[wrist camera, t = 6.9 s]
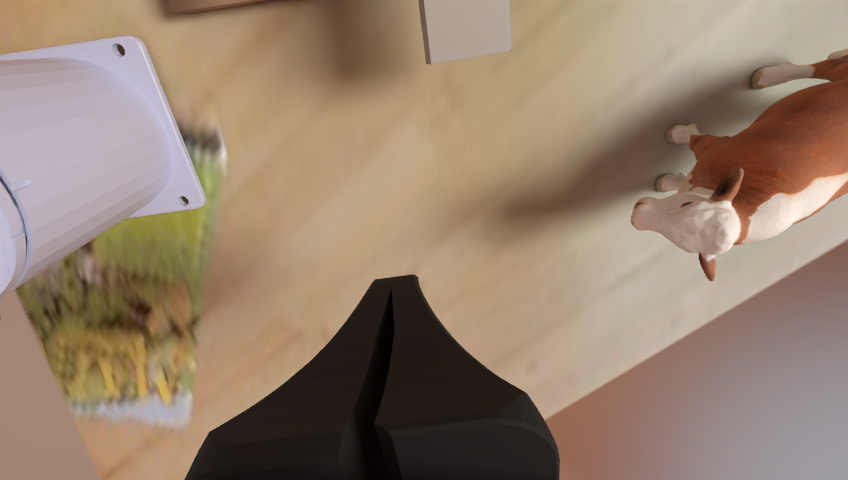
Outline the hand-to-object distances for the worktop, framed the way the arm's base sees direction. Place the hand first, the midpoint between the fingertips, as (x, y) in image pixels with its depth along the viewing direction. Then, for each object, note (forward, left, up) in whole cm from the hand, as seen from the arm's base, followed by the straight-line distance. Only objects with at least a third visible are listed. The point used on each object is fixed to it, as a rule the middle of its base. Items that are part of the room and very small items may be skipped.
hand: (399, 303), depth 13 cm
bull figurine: (+16, +1, -10) cm, 19 cm away
